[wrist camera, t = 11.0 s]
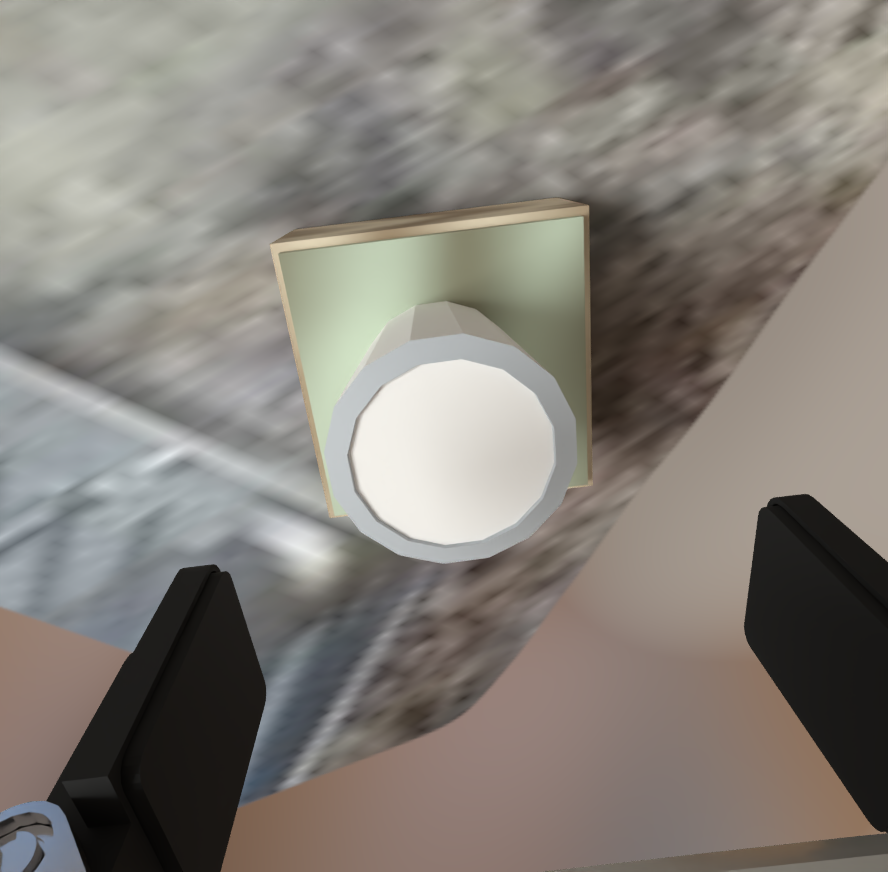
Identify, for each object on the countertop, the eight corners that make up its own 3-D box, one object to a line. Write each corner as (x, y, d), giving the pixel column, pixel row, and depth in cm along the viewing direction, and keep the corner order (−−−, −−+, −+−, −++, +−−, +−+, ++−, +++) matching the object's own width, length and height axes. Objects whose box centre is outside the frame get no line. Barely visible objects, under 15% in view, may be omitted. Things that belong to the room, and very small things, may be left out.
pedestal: (556, 197, 26) (592, 206, 21) (564, 436, 30) (595, 490, 25) (294, 229, 26) (267, 245, 21) (341, 463, 30) (328, 523, 25)
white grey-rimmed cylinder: (317, 320, 22) (280, 386, 15) (503, 255, 21) (544, 296, 15) (386, 481, 24) (378, 594, 18) (551, 428, 24) (604, 525, 18)
